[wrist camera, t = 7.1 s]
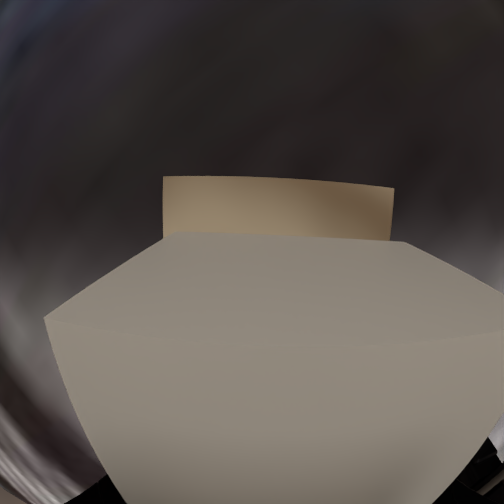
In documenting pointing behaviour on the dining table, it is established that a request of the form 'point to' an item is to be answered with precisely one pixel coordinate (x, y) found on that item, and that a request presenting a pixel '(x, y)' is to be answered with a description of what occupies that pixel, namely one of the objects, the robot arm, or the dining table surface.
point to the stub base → (276, 207)
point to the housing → (282, 370)
